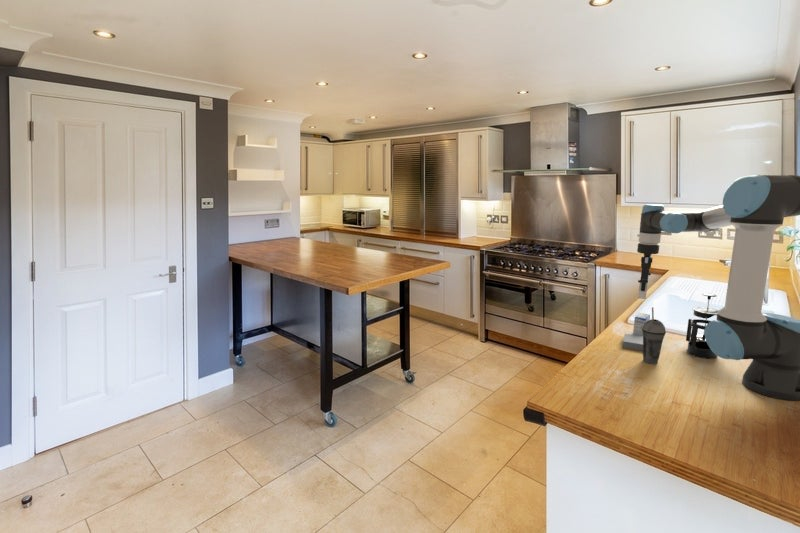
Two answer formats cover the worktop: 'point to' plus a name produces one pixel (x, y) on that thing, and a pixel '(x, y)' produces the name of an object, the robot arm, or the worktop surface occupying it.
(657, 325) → the beverage cup
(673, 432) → the worktop surface
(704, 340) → the french press
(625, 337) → the base board
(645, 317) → the medicine box
